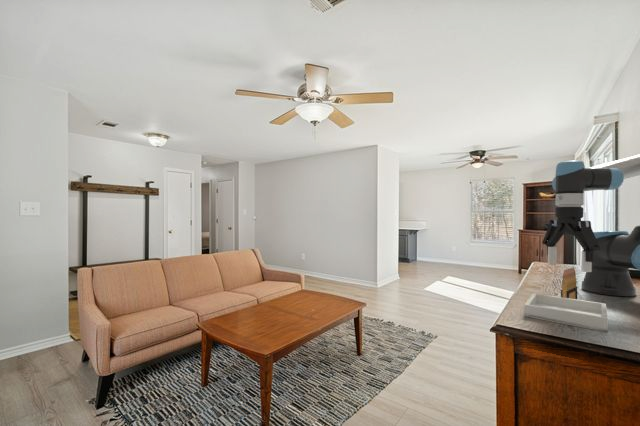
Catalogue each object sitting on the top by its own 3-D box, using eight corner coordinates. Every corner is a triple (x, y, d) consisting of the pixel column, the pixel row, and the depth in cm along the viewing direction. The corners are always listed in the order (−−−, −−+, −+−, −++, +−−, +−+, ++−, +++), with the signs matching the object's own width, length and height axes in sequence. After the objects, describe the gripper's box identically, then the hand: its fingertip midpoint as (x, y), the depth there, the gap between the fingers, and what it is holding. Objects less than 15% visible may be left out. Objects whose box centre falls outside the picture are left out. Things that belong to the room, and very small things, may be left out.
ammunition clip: (567, 306, 100) (567, 270, 100) (560, 305, 102) (560, 269, 102) (577, 301, 107) (577, 267, 107) (570, 300, 108) (570, 266, 108)
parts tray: (533, 303, 104) (533, 293, 104) (605, 315, 91) (605, 303, 91) (524, 316, 90) (524, 304, 90) (607, 332, 78) (607, 318, 78)
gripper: (531, 207, 117) (530, 262, 117) (592, 205, 92) (591, 275, 92) (550, 207, 117) (549, 262, 117) (616, 205, 92) (615, 275, 92)
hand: (568, 268), depth 104 cm, fingers open, 13 cm apart
